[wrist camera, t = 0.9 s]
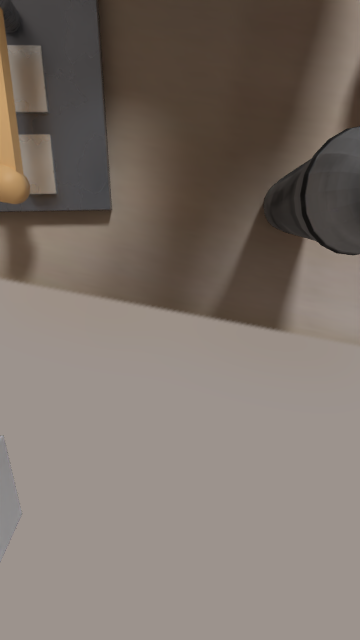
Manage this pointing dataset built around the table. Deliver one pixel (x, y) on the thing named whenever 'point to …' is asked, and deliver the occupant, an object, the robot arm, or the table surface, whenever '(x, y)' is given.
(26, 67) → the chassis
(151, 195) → the table surface
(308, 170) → the beverage cup
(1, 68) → the wooden lever handle
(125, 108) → the table surface
